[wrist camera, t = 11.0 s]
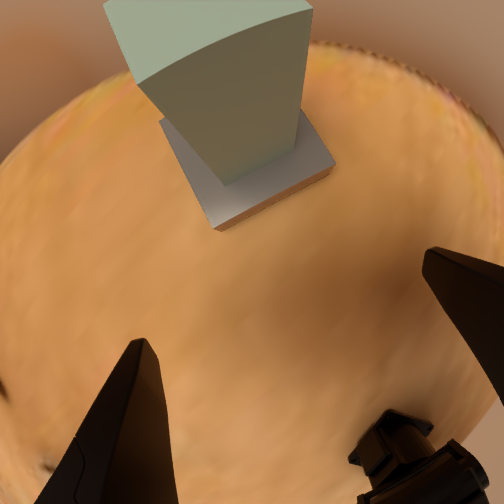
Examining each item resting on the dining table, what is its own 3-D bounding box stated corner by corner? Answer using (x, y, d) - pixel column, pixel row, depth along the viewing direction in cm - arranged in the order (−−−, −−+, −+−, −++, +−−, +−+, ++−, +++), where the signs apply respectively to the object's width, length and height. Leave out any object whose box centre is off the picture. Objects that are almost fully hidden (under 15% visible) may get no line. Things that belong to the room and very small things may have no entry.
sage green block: (293, 150, 18) (313, 7, 5) (224, 186, 18) (136, 84, 6) (257, 93, 18) (231, -54, 5) (193, 126, 18) (102, 4, 6)
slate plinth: (328, 174, 21) (336, 163, 18) (221, 231, 21) (212, 228, 18) (269, 84, 21) (268, 64, 18) (172, 135, 22) (158, 121, 19)
